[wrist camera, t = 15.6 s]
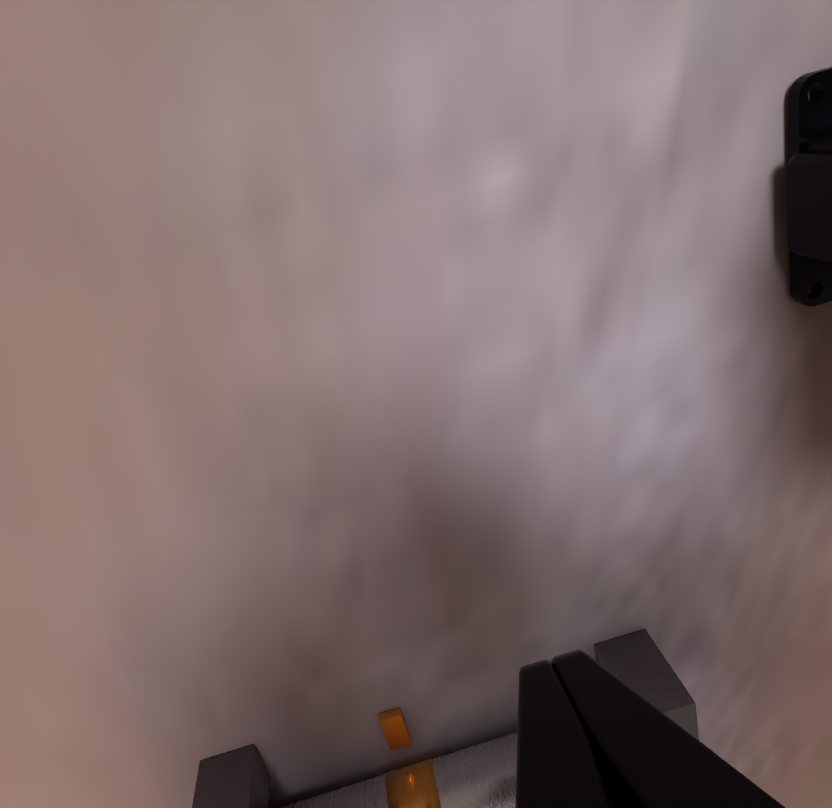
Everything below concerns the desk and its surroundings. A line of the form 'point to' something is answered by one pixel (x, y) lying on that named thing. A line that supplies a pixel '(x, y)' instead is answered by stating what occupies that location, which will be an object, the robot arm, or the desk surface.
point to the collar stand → (249, 780)
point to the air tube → (436, 782)
